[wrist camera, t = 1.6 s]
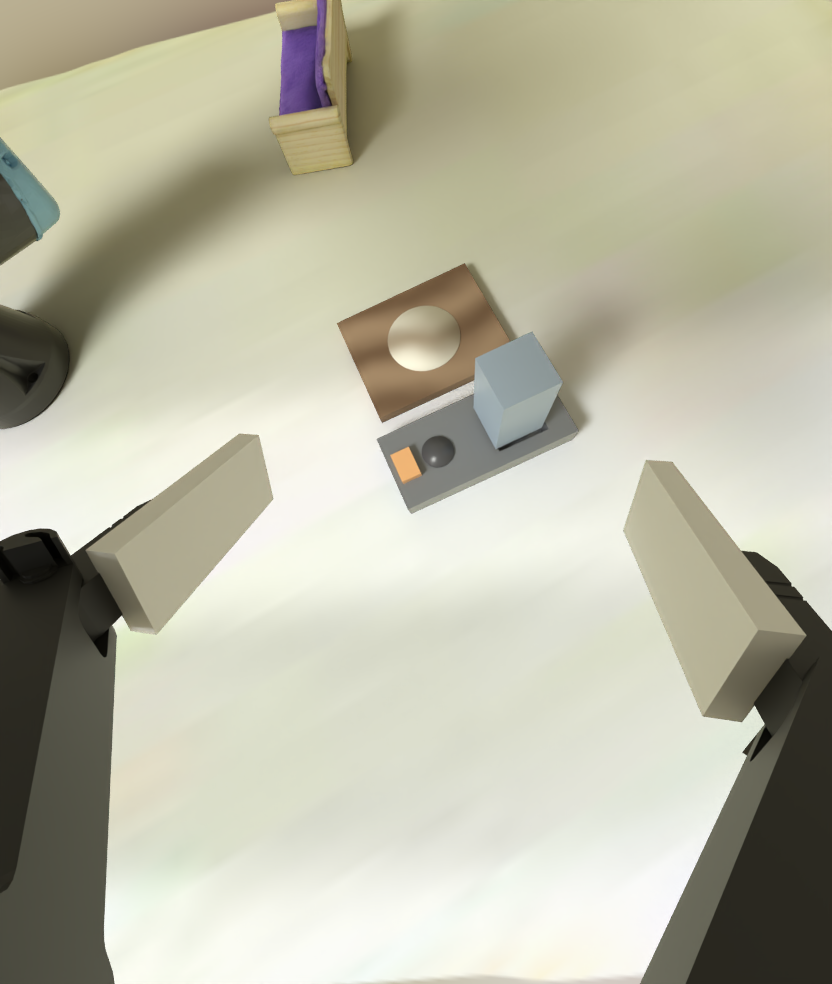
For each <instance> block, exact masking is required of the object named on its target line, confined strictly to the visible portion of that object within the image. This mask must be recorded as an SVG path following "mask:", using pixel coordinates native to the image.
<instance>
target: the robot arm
mask: <svg viewBox="0 0 832 984" xmlns="http://www.w3.org/2000/svg"><path fill="white" fill-rule="evenodd" d="M59 217H60V210H59V206H58V204H57V202H56V201H55V200H54V198H53V197H52V196H51V195H50V193H49V192H48V191H47V190H46V189H45V188H44V186H43V185H42V184H41V183H40V182H39V181H38V180H37V178H36V177H35V176H34V175H33V174H32V173H31V172H30V170H29V169H28V168H27V167H26V166H25V165H24V164H23V162H22V161H21V160H20V159H19V158H18V157H17V156H16V155H15V153H14V152H13V151H12V150H11V149H10V148H9V147H8V146H7V144H6V143H5V142H4V141H3V140H2V139H1V138H0V265H2V264H3V263H5V262H6V261H8V260H9V259H10V258H12V257H13V256H15V255H16V254H18V253H19V252H20V251H22V250H23V249H25V248H26V247H28V246H29V245H30V244H32V243H33V242H35V241H38V240H40V239H42V237H43V234H44V233H45V232H46V231H47V230H48V229H49V228H51V227H52V226H53V225H54V224H55V223H56V222H57V221H58V220H59ZM68 365H69V351H68V347H67V344H66V341H65V339H64V337H63V336H62V334H61V333H60V332H59V331H58V330H57V329H56V328H54V327H53V326H51V325H50V324H48V323H46V322H45V321H43V320H42V319H40V318H38V317H37V316H35V315H32V314H30V313H27V312H23V311H20V310H14V309H11V308H8V307H6V306H3V305H0V429H6V428H12V427H15V426H18V425H21V424H23V423H25V422H27V421H29V420H31V419H32V418H34V417H35V416H37V415H38V414H39V413H40V412H42V411H43V410H44V409H45V408H46V407H47V406H48V405H49V404H50V403H51V402H52V400H53V399H54V398H55V396H56V395H57V393H58V392H59V390H60V389H61V387H62V385H63V382H64V380H65V377H66V374H67V371H68ZM272 500H273V495H272V491H271V486H270V482H269V478H268V473H267V469H266V465H265V460H264V456H263V452H262V447H261V443H260V439H259V435H250V434H238V435H237V436H236V437H234V438H233V439H232V440H230V441H229V442H228V443H226V444H225V445H224V446H222V447H221V448H220V449H218V450H217V451H216V452H215V453H213V454H212V455H211V456H209V457H208V458H207V459H205V460H204V461H203V462H201V463H200V464H199V465H197V466H196V467H195V468H193V469H192V470H191V471H189V472H188V473H187V474H185V475H184V476H183V477H181V478H180V479H179V480H177V481H176V482H175V483H174V484H172V485H171V486H170V487H168V488H167V489H166V490H164V491H163V492H162V493H160V494H159V495H158V496H156V497H155V498H154V499H152V500H149V501H147V502H145V503H143V504H141V505H139V506H137V507H136V508H134V509H133V510H132V511H130V512H129V513H128V514H126V515H125V516H124V517H123V519H120V520H118V521H117V522H115V523H114V524H113V525H112V527H111V528H110V527H109V528H107V529H106V530H105V531H103V532H102V533H101V534H99V535H98V536H97V537H95V538H94V539H93V540H91V541H90V542H89V543H87V544H86V545H85V546H83V547H82V548H81V549H79V550H78V551H76V552H75V553H74V554H72V555H71V556H70V554H69V552H68V550H67V549H66V547H65V545H64V544H63V542H62V540H61V539H60V537H59V535H58V534H57V532H56V531H54V530H52V529H35V530H29V531H25V532H22V533H19V534H15V535H12V536H10V537H8V538H6V539H4V540H2V541H0V984H115V983H114V977H113V971H112V968H111V965H110V962H109V959H108V956H107V953H106V950H105V943H104V913H105V890H106V867H107V844H108V821H109V798H110V775H111V752H112V730H113V707H114V684H115V661H116V638H117V635H116V632H115V630H114V628H113V626H112V625H113V624H114V623H115V622H116V621H117V620H118V619H119V618H120V617H121V616H123V618H124V620H125V621H126V623H127V625H128V627H129V628H130V630H131V631H135V632H142V633H149V634H155V635H157V634H158V632H159V631H160V630H161V629H162V628H163V627H164V625H165V624H166V623H167V622H168V621H169V620H170V618H171V617H172V616H173V615H174V614H175V613H176V612H177V610H178V609H179V608H180V607H181V606H182V605H183V603H184V602H185V601H186V600H187V599H188V598H189V596H190V595H191V594H192V593H193V592H194V591H195V589H196V588H197V587H198V586H199V585H200V584H201V583H202V581H203V580H204V579H205V578H206V577H207V576H208V574H209V573H210V572H211V571H212V570H213V569H214V567H215V566H216V565H217V564H218V563H219V562H220V560H221V559H222V558H223V557H224V556H225V555H226V553H227V552H228V551H229V550H230V549H231V548H232V547H233V545H234V544H235V543H236V542H237V541H238V540H239V538H240V537H241V536H242V535H243V534H244V533H245V531H246V530H247V529H248V528H249V527H250V526H251V524H252V523H253V522H254V521H255V520H256V519H257V518H258V516H259V515H260V514H261V513H262V512H263V511H264V509H265V508H266V507H267V506H268V505H269V504H270V502H271V501H272ZM623 531H624V533H625V535H626V538H627V540H628V543H629V545H630V547H631V550H632V552H633V554H634V557H635V559H636V561H637V564H638V566H639V568H640V571H641V573H642V575H643V578H644V580H645V582H646V585H647V587H648V589H649V592H650V594H651V597H652V599H653V601H654V604H655V606H656V608H657V611H658V613H659V615H660V618H661V620H662V622H663V625H664V627H665V629H666V632H667V634H668V636H669V639H670V641H671V643H672V646H673V648H674V651H675V653H676V655H677V658H678V660H679V662H680V665H681V667H682V669H683V672H684V674H685V676H686V679H687V681H688V683H689V686H690V688H691V690H692V693H693V695H694V697H695V700H696V702H697V705H698V707H699V709H700V712H701V714H702V716H704V717H711V718H718V719H724V720H731V721H738V722H742V721H743V720H744V719H745V717H746V716H747V715H748V713H749V712H750V711H751V709H752V708H753V707H754V705H755V707H756V709H757V710H758V712H759V714H760V716H761V718H762V720H763V721H764V723H765V725H764V726H763V727H762V728H761V730H760V731H759V732H758V733H757V735H756V736H755V737H754V738H753V740H752V741H751V742H750V743H749V745H748V746H747V747H746V748H745V750H744V751H743V753H744V754H745V755H747V757H746V759H745V761H744V764H743V766H742V768H741V770H740V772H739V774H738V776H737V779H736V781H735V783H734V785H733V787H732V789H731V791H730V793H729V796H728V798H727V800H726V802H725V804H724V806H723V808H722V810H721V813H720V815H719V817H718V819H717V821H716V823H715V825H714V827H713V830H712V832H711V834H710V836H709V838H708V840H707V842H706V845H705V847H704V849H703V851H702V853H701V855H700V857H699V859H698V862H697V864H696V866H695V868H694V870H693V872H692V874H691V876H690V879H689V881H688V883H687V885H686V887H685V889H684V891H683V894H682V896H681V898H680V900H679V902H678V904H677V906H676V908H675V911H674V913H673V915H672V917H671V919H670V921H669V923H668V925H667V928H666V930H665V932H664V934H663V936H662V938H661V940H660V943H659V945H658V947H657V949H656V951H655V953H654V955H653V957H652V960H651V962H650V964H649V966H648V968H647V970H646V972H645V974H644V977H643V979H642V981H641V983H640V984H832V631H831V630H830V629H829V627H828V626H827V625H826V624H825V623H824V621H823V620H822V619H821V618H820V617H819V616H818V614H817V613H816V612H815V611H814V610H813V608H812V607H811V606H810V605H809V604H808V603H807V601H803V597H802V595H801V594H800V593H799V592H798V591H797V590H796V588H795V587H792V586H791V582H790V581H789V580H788V579H787V578H786V577H785V575H784V574H783V573H782V572H781V571H780V569H779V568H778V567H777V566H775V565H774V564H772V563H771V562H769V561H768V560H767V559H765V558H764V557H762V556H761V555H760V554H758V553H757V552H747V551H741V550H740V549H739V548H738V546H737V545H736V544H735V542H734V541H733V540H732V539H731V537H730V536H729V535H728V533H727V532H726V531H725V530H724V528H723V527H722V526H721V524H720V523H719V522H718V520H717V519H716V518H715V517H714V515H713V514H712V513H711V511H710V510H709V509H708V508H707V506H706V505H705V504H704V502H703V501H702V500H701V499H700V497H699V496H698V495H697V493H696V492H695V491H694V489H693V488H692V487H691V486H690V484H689V483H688V482H687V480H686V479H685V478H684V477H683V475H682V474H681V473H680V471H679V470H678V469H677V467H676V466H675V465H674V464H673V462H666V461H650V460H646V462H645V465H644V468H643V471H642V474H641V477H640V480H639V483H638V486H637V489H636V493H635V496H634V499H633V502H632V505H631V508H630V511H629V514H628V517H627V520H626V524H625V527H624V530H623Z"/></svg>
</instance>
